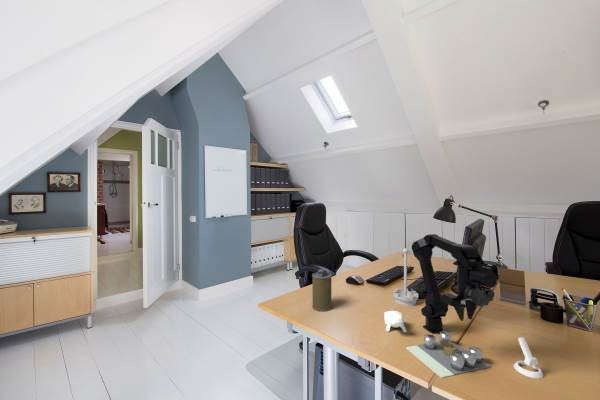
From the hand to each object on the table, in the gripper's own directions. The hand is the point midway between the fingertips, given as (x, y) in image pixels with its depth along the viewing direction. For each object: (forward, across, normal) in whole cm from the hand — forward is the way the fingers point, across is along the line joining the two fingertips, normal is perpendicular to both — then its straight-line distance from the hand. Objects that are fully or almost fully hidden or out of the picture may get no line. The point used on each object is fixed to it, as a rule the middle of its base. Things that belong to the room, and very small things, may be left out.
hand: (465, 319), depth 103 cm
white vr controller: (+12, +10, -15) cm, 22 cm away
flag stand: (+12, +8, +47) cm, 49 cm away
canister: (+12, -38, +53) cm, 67 cm away
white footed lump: (+12, -16, +22) cm, 30 cm away
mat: (+12, -10, -1) cm, 16 cm away
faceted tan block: (+12, -8, 0) cm, 14 cm away
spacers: (+12, -7, -1) cm, 14 cm away
